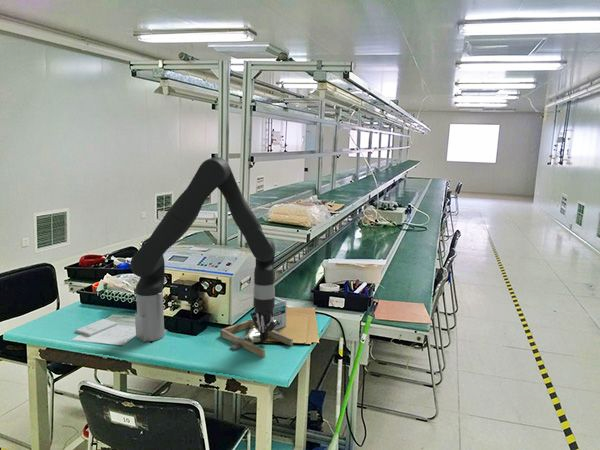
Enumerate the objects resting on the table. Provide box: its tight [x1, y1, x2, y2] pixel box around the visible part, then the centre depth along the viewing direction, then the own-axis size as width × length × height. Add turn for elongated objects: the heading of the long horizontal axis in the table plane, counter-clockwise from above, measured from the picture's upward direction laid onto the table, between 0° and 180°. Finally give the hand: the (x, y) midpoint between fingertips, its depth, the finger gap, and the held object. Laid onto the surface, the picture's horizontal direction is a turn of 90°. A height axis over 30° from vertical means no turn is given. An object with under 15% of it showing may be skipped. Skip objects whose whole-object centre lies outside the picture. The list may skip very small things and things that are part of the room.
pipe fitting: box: [243, 328, 261, 344], centre depth 170 cm, size 8×4×7 cm
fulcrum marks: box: [229, 329, 281, 351], centre depth 171 cm, size 22×3×3 cm, turn 135°
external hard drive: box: [75, 318, 118, 337], centre depth 179 cm, size 2×8×12 cm
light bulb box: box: [273, 296, 287, 330], centre depth 185 cm, size 11×7×11 cm, turn 44°
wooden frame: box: [219, 319, 294, 358], centre depth 171 cm, size 14×24×2 cm, turn 45°
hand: (263, 340), depth 168 cm, fingers closed
